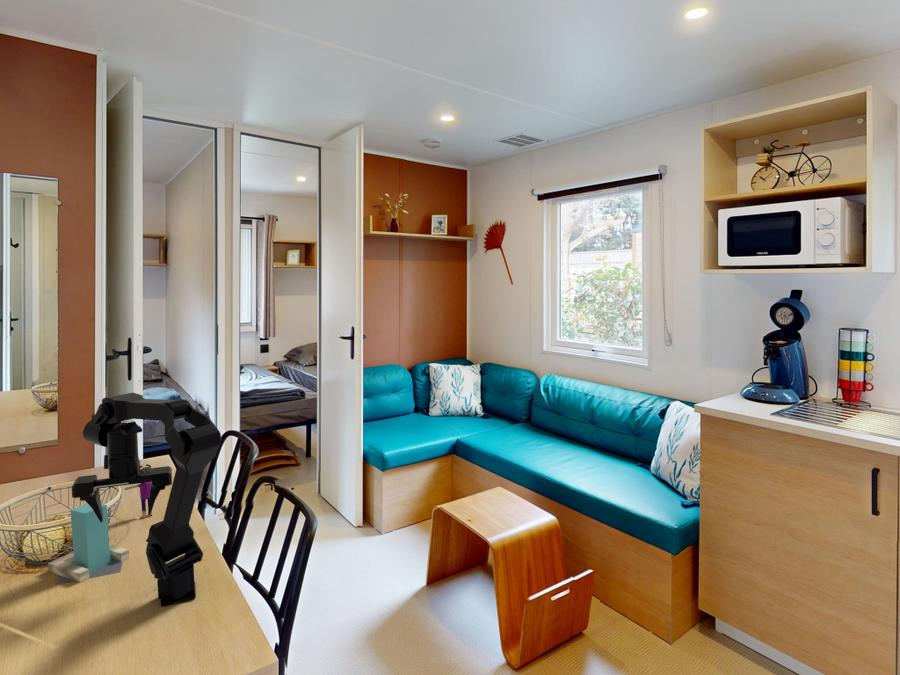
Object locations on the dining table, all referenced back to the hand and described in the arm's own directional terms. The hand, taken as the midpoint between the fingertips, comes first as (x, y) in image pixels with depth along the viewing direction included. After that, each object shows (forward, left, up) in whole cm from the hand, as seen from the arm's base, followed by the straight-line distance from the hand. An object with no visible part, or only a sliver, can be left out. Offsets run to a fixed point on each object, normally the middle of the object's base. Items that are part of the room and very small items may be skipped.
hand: (126, 517), depth 121 cm
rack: (+8, -7, -13) cm, 17 cm away
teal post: (+8, -7, -13) cm, 17 cm away
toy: (-2, -31, -14) cm, 34 cm away
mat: (+8, -7, -13) cm, 17 cm away
